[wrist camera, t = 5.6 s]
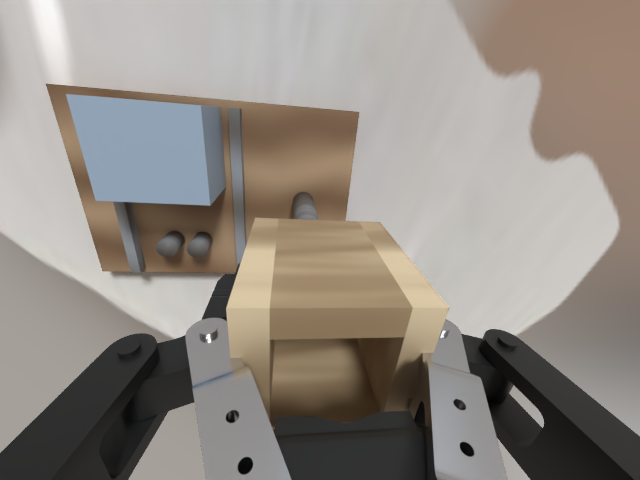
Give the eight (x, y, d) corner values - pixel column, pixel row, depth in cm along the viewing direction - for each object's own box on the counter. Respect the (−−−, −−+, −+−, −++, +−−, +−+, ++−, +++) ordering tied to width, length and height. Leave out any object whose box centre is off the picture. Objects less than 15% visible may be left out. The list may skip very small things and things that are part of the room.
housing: (118, 98, 19) (65, 94, 15) (220, 107, 20) (200, 105, 16) (135, 182, 22) (95, 200, 17) (226, 186, 23) (210, 205, 18)
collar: (255, 217, 12) (226, 307, 6) (379, 222, 12) (449, 307, 7) (257, 318, 14) (237, 447, 9) (362, 318, 15) (404, 436, 9)
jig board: (62, 85, 20) (-80, 69, 12) (354, 112, 23) (388, 112, 15) (112, 263, 26) (39, 325, 19) (336, 266, 29) (353, 322, 21)
